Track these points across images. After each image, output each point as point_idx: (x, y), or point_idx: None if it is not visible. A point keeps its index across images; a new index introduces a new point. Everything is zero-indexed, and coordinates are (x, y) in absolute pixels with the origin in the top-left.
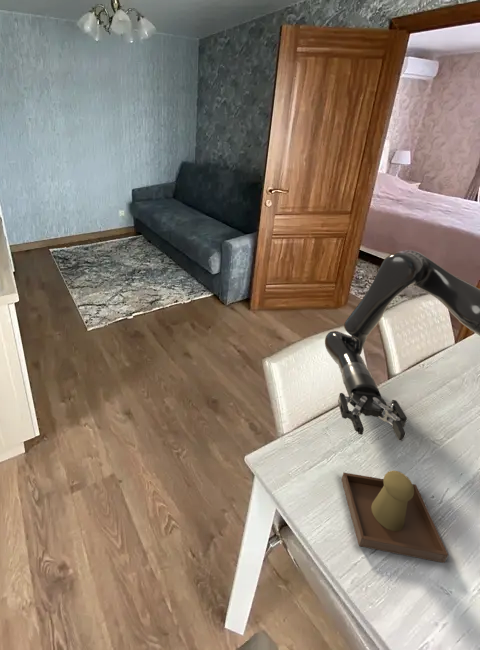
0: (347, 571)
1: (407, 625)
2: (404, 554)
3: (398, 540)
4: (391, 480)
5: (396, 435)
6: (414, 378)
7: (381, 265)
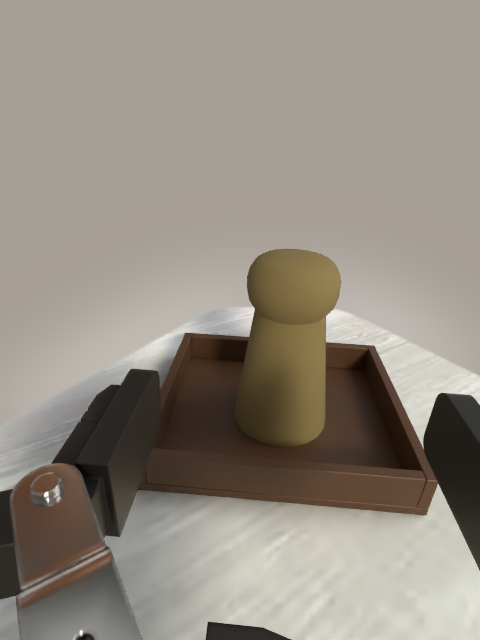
0: (393, 347)
1: None
2: None
3: None
4: (327, 258)
5: (148, 453)
6: None
7: None
